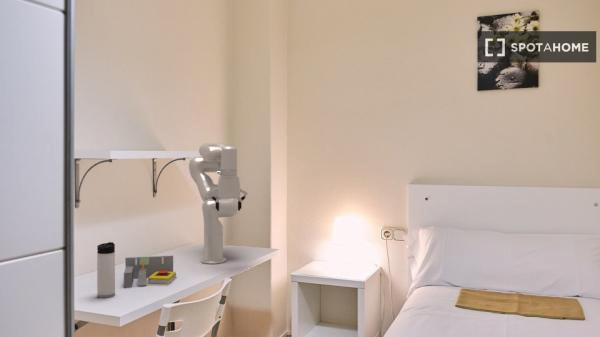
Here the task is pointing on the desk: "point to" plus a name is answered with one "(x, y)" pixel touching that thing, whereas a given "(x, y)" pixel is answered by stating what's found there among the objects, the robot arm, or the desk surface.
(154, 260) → the frame
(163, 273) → the emergency button
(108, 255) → the travel mug
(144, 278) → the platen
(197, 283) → the desk surface
